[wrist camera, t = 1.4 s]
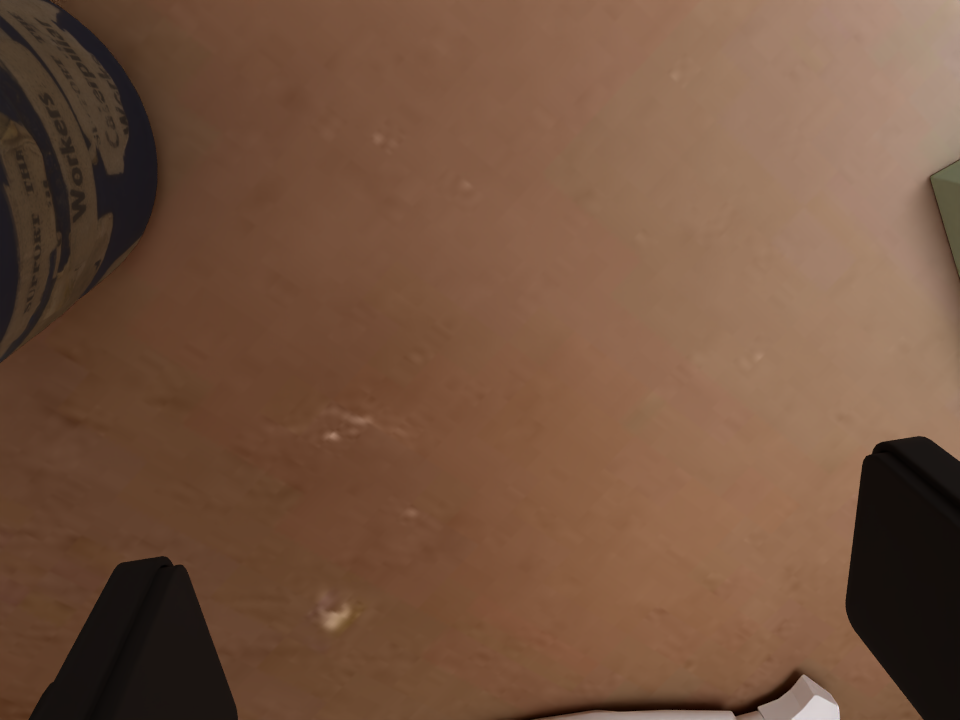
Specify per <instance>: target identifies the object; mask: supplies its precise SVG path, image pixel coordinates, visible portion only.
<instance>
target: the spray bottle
mask: <svg viewBox="0 0 960 720" xmlns="http://www.w3.org/2000/svg"><path fill="white" fill-rule="evenodd" d="M532 720H840V715H839V706H838V704H837V703H836V701H835V700H834V698H833V697H832V695H831V694H830V693H829V692H827V691H826V690H825V689H823V688H822V687H821V686H819V685H818V684H817V683H815V682H814V681H812V680H811V679H810V678H808V677H807V676H806V675H802V676H801V677H800V678H799V680H798V681H797V682H796V683H795V685H794V686H793V687H792V688H791V690H789V691H788V692H787V693H785V694H784V695H783V696H782V697H780V698H779V699H777V700H774V701H772V702H769V703H766V704H764V705H761V706H759V707H758V711H754V712H750V713H747V714H743V715H739V716H734V714H733V712H732V711H711V710H648V711H627V712H616V711H606V710H591V711H584V712H578V713H571V714H565V715H558V716H552V717H545V718H539V719H532Z"/></svg>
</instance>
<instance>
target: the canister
mask: <svg viewBox="0 0 960 720" xmlns="http://www.w3.org/2000/svg"><path fill="white" fill-rule="evenodd" d="M156 188H157V154H156V146H155V142H154V137H153V133H152V130H151V126H150V123H149V120H148V116H147V114H146V111H145V109H144V106H143V104H142V102H141V99H140V97H139V95H138V93H137V91H136V90H135V88H134V86H133V84H132V83H131V81H130V79H129V78H128V76H127V74H126V73H125V71H124V70H123V68H122V67H121V66H120V64H119V63H118V62H117V60H116V59H115V58H114V56H113V55H112V54H111V53H110V51H109V50H108V49H107V48H106V47H105V46H104V45H103V43H102V42H101V41H100V40H99V39H98V38H97V37H96V36H95V35H94V34H93V33H92V32H91V31H90V30H88V29H87V28H86V27H85V26H84V25H82V24H81V23H80V22H79V21H78V20H76V19H75V18H74V17H73V16H71V15H70V14H69V13H68V12H66V11H65V10H63V9H62V8H61V7H59V6H58V5H56V4H54V3H52V2H51V1H49V0H0V363H1V362H2V361H3V360H5V359H6V358H7V357H8V356H10V355H11V354H12V353H13V352H15V351H16V350H17V349H19V348H20V347H21V346H23V345H24V344H25V343H26V342H28V341H29V340H30V339H31V338H33V337H34V336H36V335H37V334H38V333H40V332H41V331H42V330H44V329H45V328H46V327H47V326H48V325H50V324H51V323H52V322H53V321H55V320H56V319H57V318H59V317H60V316H61V315H62V314H63V313H64V312H65V311H67V310H68V309H69V308H70V307H71V306H72V305H73V304H74V303H75V302H76V301H77V300H78V299H80V298H81V297H82V296H84V295H85V294H86V293H88V292H89V291H90V290H91V289H93V288H94V287H95V286H96V285H97V284H99V283H100V282H101V281H102V280H103V279H105V278H106V277H107V276H108V275H109V274H110V273H111V272H113V271H114V270H115V269H116V268H117V267H118V266H119V265H120V264H121V263H122V262H123V261H124V260H125V258H126V257H127V256H128V255H129V254H130V253H131V251H132V250H133V249H134V248H135V246H136V245H137V243H138V242H139V240H140V239H141V237H142V235H143V232H144V230H145V228H146V225H147V223H148V221H149V218H150V215H151V212H152V208H153V205H154V200H155V196H156Z"/></svg>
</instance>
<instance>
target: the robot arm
mask: <svg viewBox="0 0 960 720" xmlns="http://www.w3.org/2000/svg"><path fill="white" fill-rule="evenodd" d="M846 612H847V615H848V619H849V621H850V623H851V625H852V627H853V629H854V630H855V632H856V633H857V634H858V636H859V637H860V638H861V639H862V641H863V642H864V643H865V645H866V646H867V647H868V648H869V650H870V651H871V652H872V654H873V655H874V656H875V657H876V659H877V660H878V661H879V663H880V664H881V665H882V667H883V668H884V669H885V670H886V672H887V673H888V674H889V676H890V677H891V678H892V679H893V681H894V682H895V683H896V685H897V686H898V687H899V688H900V690H901V691H902V692H903V694H904V695H905V696H906V697H907V699H908V700H909V701H910V703H911V704H912V705H913V707H914V708H915V709H916V710H917V712H918V713H919V714H920V716H921V717H922V718H923V719H924V720H960V461H958V460H957V459H956V458H954V457H953V456H952V455H950V454H949V453H948V452H946V451H945V450H944V449H942V448H941V447H940V446H938V445H937V444H936V443H934V442H933V441H932V440H930V439H928V438H926V437H921V436H917V437H911V438H904V439H898V440H892V441H886V442H881V443H879V444H877V445H876V446H875V448H874V449H873V452H872V454H871V455H868V456H866V457H865V459H864V461H863V464H862V472H861V480H860V488H859V496H858V504H857V512H856V520H855V529H854V537H853V545H852V553H851V561H850V569H849V577H848V586H847V594H846ZM29 720H238V715H237V709H236V705H235V702H234V699H233V696H232V694H231V691H230V688H229V685H228V683H227V680H226V677H225V674H224V672H223V669H222V666H221V663H220V660H219V658H218V655H217V652H216V649H215V647H214V644H213V641H212V638H211V636H210V633H209V630H208V627H207V624H206V622H205V619H204V616H203V613H202V611H201V608H200V605H199V602H198V600H197V597H196V594H195V591H194V589H193V586H192V583H191V580H190V577H189V575H188V572H187V570H186V568H185V567H184V566H183V565H175V566H173V564H172V562H171V561H170V560H169V558H168V557H164V556H161V557H155V558H148V559H142V560H136V561H130V562H123V563H121V564H119V565H117V567H116V568H115V569H114V571H113V573H112V574H111V576H110V578H109V580H108V582H107V584H106V586H105V587H104V589H103V591H102V593H101V595H100V597H99V599H98V600H97V602H96V604H95V606H94V608H93V610H92V612H91V613H90V615H89V617H88V619H87V621H86V623H85V625H84V626H83V628H82V630H81V632H80V634H79V636H78V637H77V639H76V641H75V643H74V645H73V647H72V649H71V650H70V652H69V654H68V656H67V658H66V660H65V662H64V663H63V665H62V667H61V669H60V671H59V673H58V675H57V676H56V678H55V680H54V682H52V683H51V684H50V685H49V686H48V688H47V689H46V690H45V692H44V693H43V695H42V696H41V698H40V700H39V702H38V703H37V705H36V707H35V709H34V711H33V713H32V714H31V716H30V718H29Z"/></svg>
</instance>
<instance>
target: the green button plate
mask: <svg viewBox="0 0 960 720" xmlns="http://www.w3.org/2000/svg"><path fill="white" fill-rule="evenodd" d="M930 179H931V182H932V186H933V189H934V193H935V196H936V199H937V203H938V206H939V210H940V213H941V216H942V220H943V223H944V226H945V230H946V233H947V237H948V240H949V243H950V247H951V250H952V254H953V257H954V260H955V264H956V267H957V271H958V274H959V277H960V160H959V161H957V162H955V163H954V164H952V165H950V166H948V167H946V168H945V169H943V170H941V171H939V172H938V173H936V174H934V175H932V176H931V177H930Z"/></svg>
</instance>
